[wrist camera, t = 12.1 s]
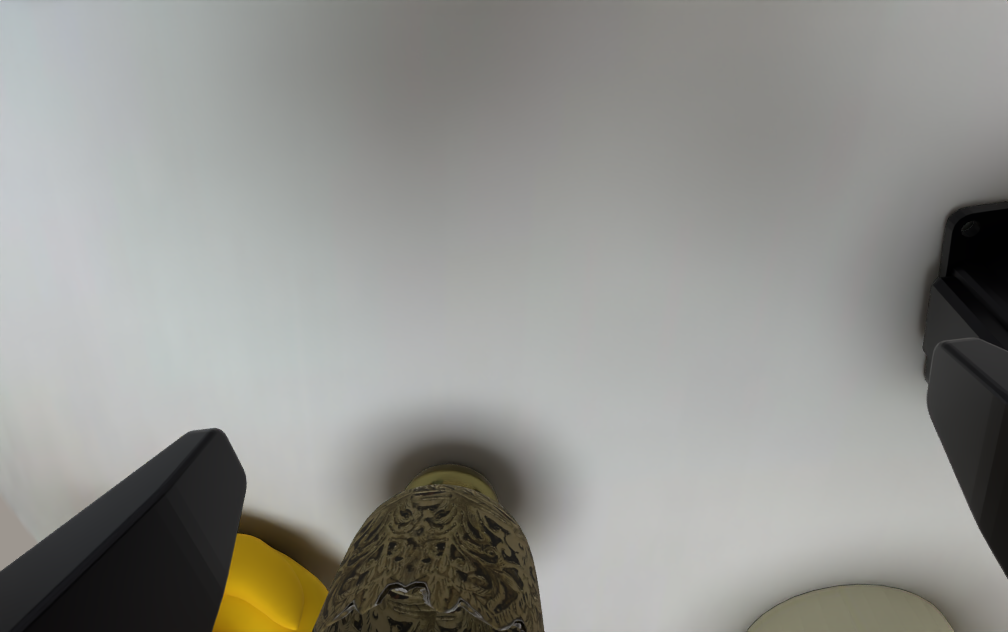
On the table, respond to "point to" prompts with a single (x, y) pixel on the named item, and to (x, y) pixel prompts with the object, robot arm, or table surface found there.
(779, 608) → the reusable coffee cup
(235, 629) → the duckling
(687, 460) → the table surface
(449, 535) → the cup
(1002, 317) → the robot arm
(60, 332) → the table surface
